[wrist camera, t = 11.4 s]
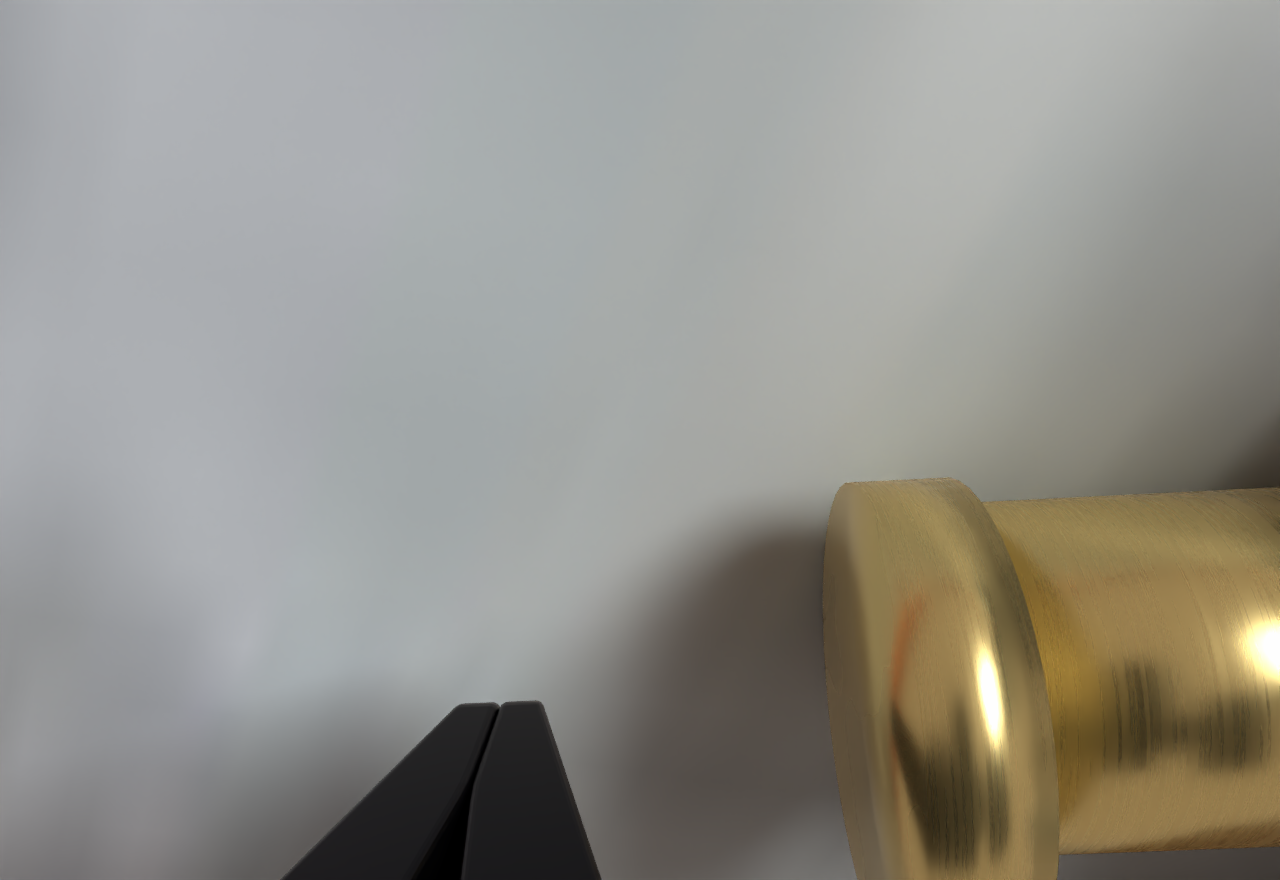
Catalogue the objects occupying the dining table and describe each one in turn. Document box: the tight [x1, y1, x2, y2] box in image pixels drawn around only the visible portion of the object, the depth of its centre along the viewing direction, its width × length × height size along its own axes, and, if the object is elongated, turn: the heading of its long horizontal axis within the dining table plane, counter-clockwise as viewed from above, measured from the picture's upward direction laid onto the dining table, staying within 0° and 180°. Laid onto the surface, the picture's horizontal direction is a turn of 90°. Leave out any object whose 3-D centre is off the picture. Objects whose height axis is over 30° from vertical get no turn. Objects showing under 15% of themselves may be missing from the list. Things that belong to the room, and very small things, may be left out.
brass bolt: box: [823, 477, 1280, 880], centre depth 9 cm, size 6×5×5 cm
